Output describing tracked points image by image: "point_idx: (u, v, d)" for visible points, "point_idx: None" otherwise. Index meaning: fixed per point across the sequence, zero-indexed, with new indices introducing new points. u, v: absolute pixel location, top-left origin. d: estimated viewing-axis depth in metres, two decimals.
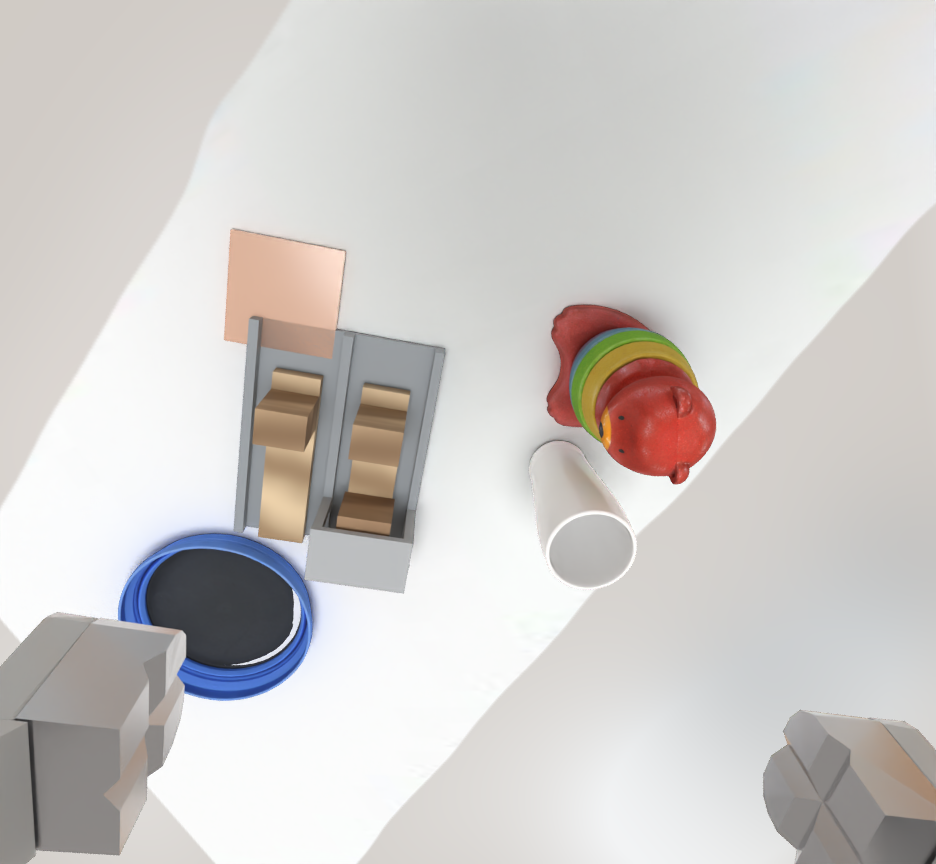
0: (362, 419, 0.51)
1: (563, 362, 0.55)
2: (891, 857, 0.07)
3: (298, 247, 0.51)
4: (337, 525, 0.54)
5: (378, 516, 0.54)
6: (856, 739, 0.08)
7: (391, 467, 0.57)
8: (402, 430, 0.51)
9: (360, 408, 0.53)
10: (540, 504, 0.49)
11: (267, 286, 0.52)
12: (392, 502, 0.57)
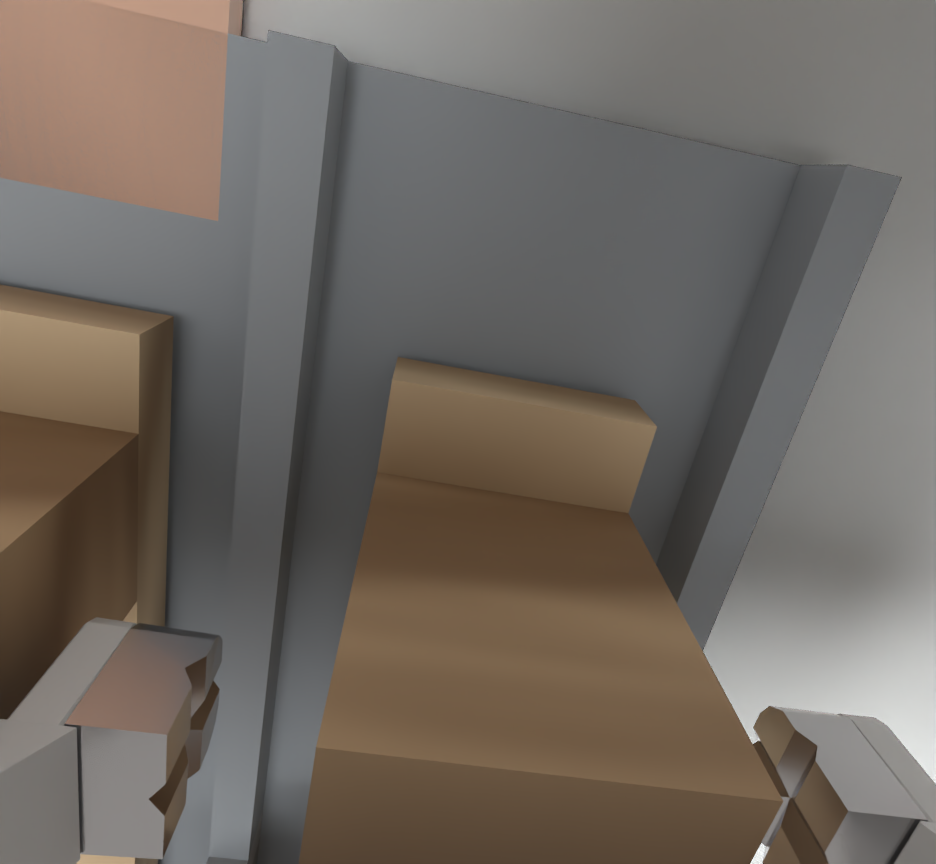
0: (399, 636, 0.06)
1: None
2: (855, 852, 0.07)
3: None
4: None
5: None
6: (824, 735, 0.08)
7: None
8: (748, 756, 0.06)
9: (378, 511, 0.09)
10: None
11: None
12: None
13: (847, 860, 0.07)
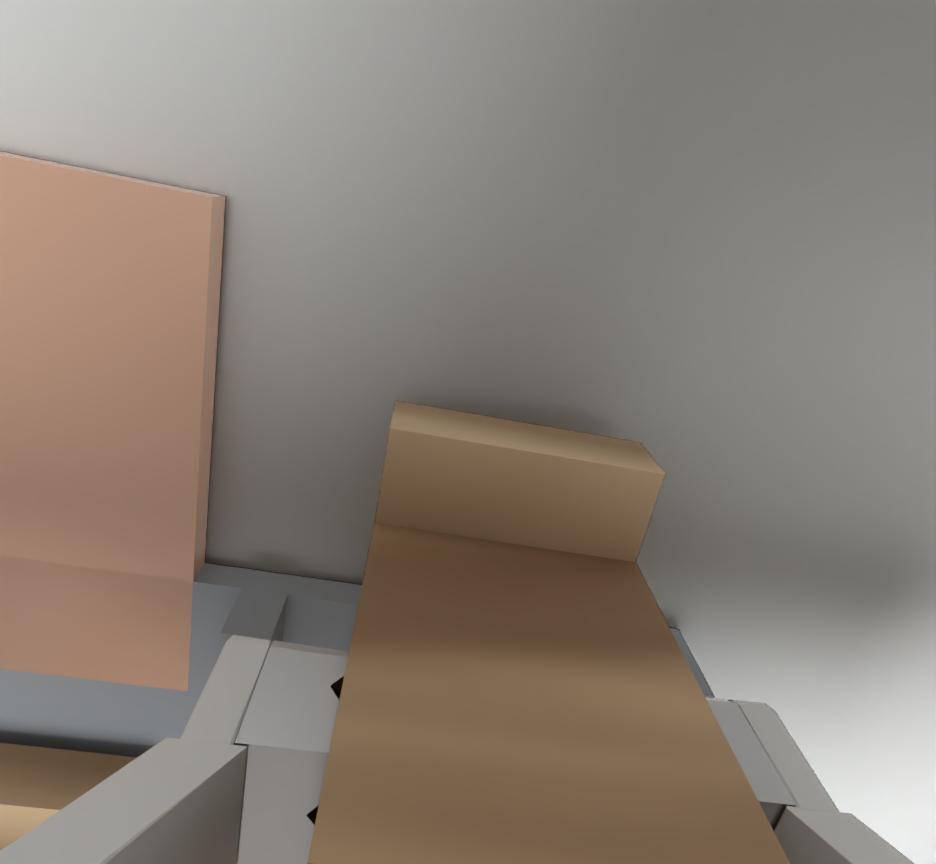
0: (398, 719, 0.06)
1: None
2: None
3: None
4: None
5: None
6: None
7: None
8: (774, 854, 0.05)
9: (376, 568, 0.08)
10: None
11: None
12: None
13: None
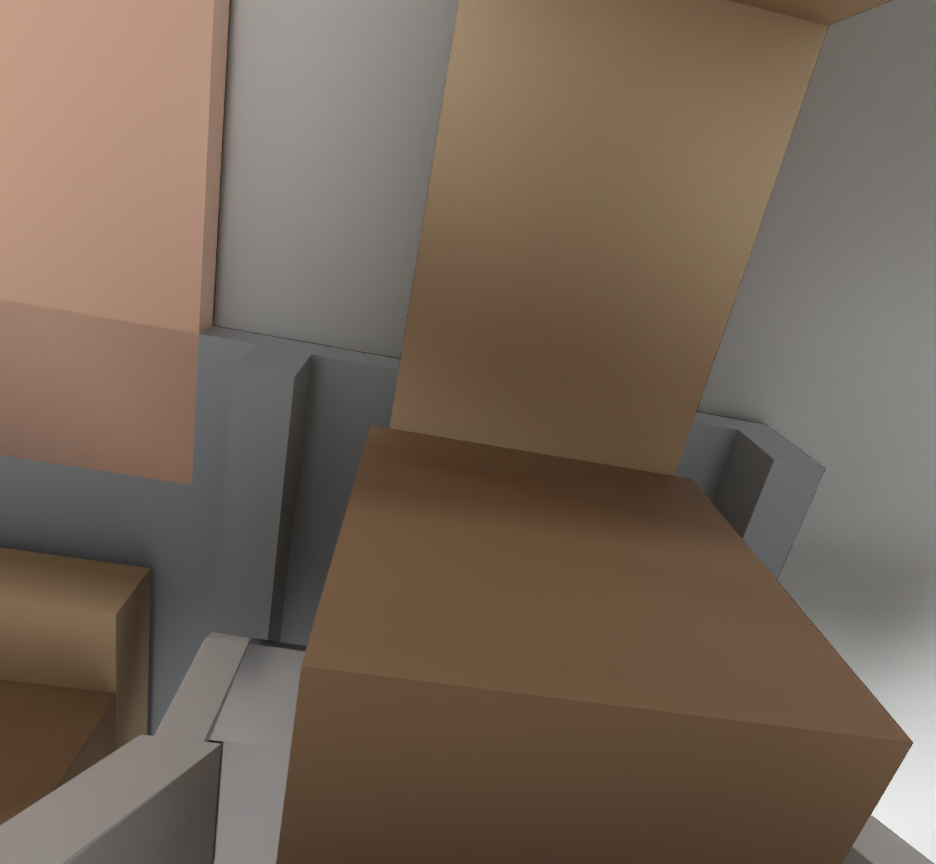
0: None
1: None
2: None
3: None
4: (302, 767, 0.05)
5: (715, 638, 0.05)
6: None
7: (711, 244, 0.08)
8: None
9: None
10: None
11: None
12: (699, 500, 0.08)
13: None
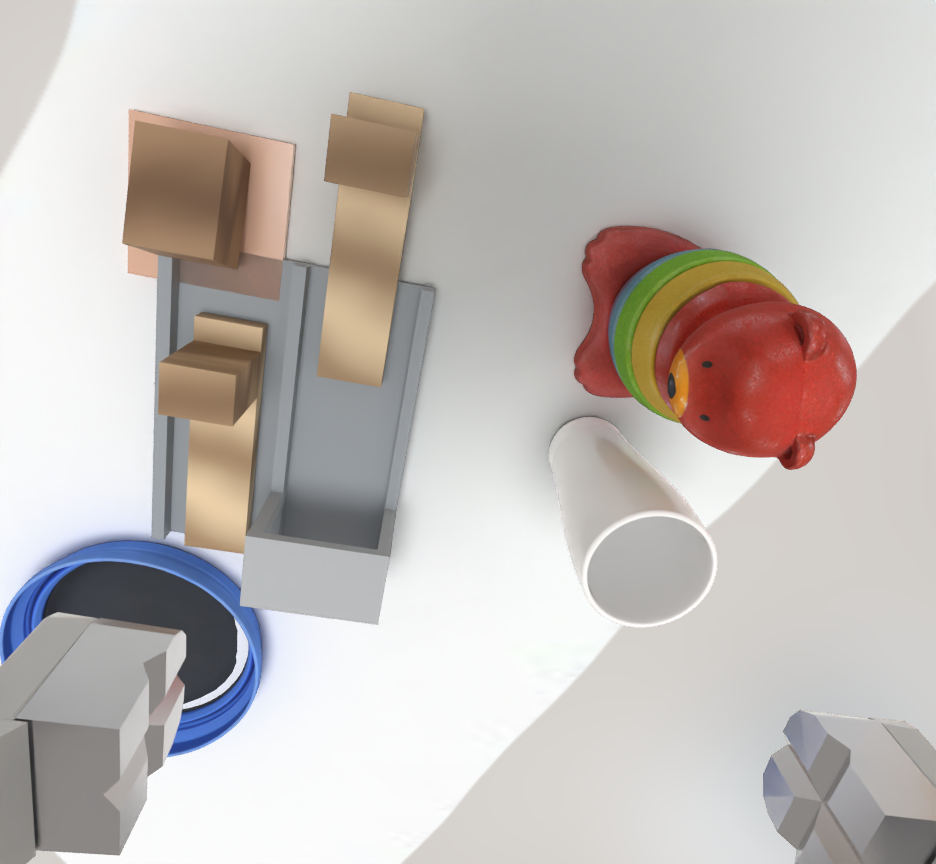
0: None
1: (598, 306, 0.40)
2: (891, 857, 0.07)
3: (227, 137, 0.36)
4: (135, 139, 0.32)
5: None
6: (856, 739, 0.08)
7: (394, 238, 0.37)
8: None
9: None
10: (570, 502, 0.34)
11: None
12: None
13: None
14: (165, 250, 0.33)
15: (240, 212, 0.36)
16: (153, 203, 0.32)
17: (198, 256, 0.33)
